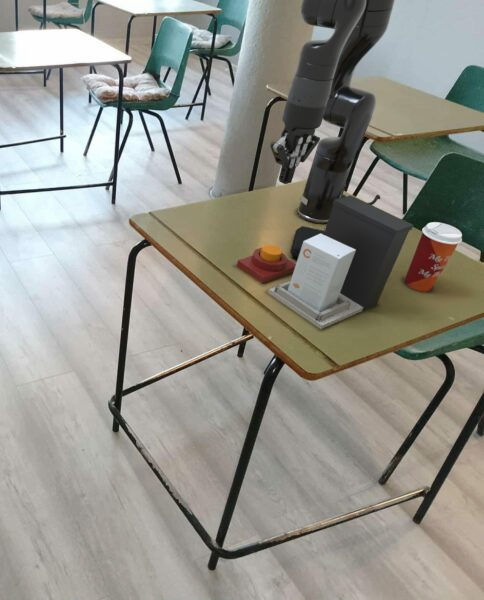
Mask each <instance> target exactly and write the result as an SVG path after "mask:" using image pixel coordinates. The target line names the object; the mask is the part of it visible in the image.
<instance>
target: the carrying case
mask: <svg viewBox="0 0 484 600" xmlns="http://www.w3.org/2000/svg"><path fill="white" fill-rule="evenodd" d="M324 232H325V230H322V229H317V228H314V227H309V226H304V225H303V226H299V227H298V228H297V229H296V230H295V232H294V236H293V240H292V243H291V247H290V250H289V251H290V255H291V256H292V258H294V259H296V260H298V257H299V254H300V251H301V248H302V244H303V241H305V240H307V239H309V238H312V237H314V236H316V235H318V234H320V233H321V234H323V235H324Z"/></svg>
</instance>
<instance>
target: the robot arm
mask: <svg viewBox="0 0 484 600" xmlns="http://www.w3.org/2000/svg"><path fill="white" fill-rule="evenodd" d="M394 5H395V0H302V1H301V3H300V16H301V19H302V21H303V22H304V23H306V24H307V25H309V26H313V27H319V28H325V29H331V30H333V33H332V35H331V36H330V37H329V38H327V39H314V40H313V39H312V40H308V41H306V42H304V44H303V45H302V47H301V49H300V53H299V56H298V60H297V65H296V68H295V72H294V75H293V78H292V81H291V83H290V86H289V90H288V94H287V98H286V102H285V106H284V110H283V114H282V117H281V119H282V122H283V124H284V127H283V130H282V131H281V134H280V138H279V139H278V140H277V141H272V142H271V143H270V145H269V147H270V150H271V153H272V155H273V159H274V161H275V163H276V164H278V165H280V166H281V168H280V171H279V176H278V181H279V182H280V183H281V184H284V185H288V184H291V183H292V182H293V178H294V176H295V173H296V168H297V167H298V166H299V165H300V163H303V164H304V163H305V161H307V159H308V158H309V156H310V155H311V154H312V153H313V151H314V149H315V148H316V150H315V153H314V156H313V160H312V162H311V167H310V170H309V173H308V176H307V178H306V182H305V186H304V189H303V192H302V195H301V197H300V200H299V201H300V202H299V205H298V207H297V211H296V213H297V215H298V216H299V218H302V219H303V220H305V221H308V222H311V223H317V224H327V223H328V220H329V217H330V214H331V212H332V209H333V206H334V205H333V201H334V200H335V199H339V198H343V197H346V196H347V195H346V194H344V193H345V190H346V186H347V184H346V183H347V180H348V177H349V174H350V170H351V168H352V165H353V163H354V160H355V157H356V154H357V152H358V151H359V148H360V147H361V144H362V142H363V139H364V137H365V135H366V132H367V130H368V127H369V125H370V123H371V121H372V118H373V116H374V113H375V110H376V105H377V98H376V97H377V96H376V95H375V94H374V93H373V92H370V91H367V90H363V89H361V88H360V89H359V88H356V87H353V86H352V85H351V83H352V78H353V75H354V73H355V70H356V68H357V66H358V65H359V63H360V62H361V61H362V59H363V58H364V57H365V56H366V55H367V54H368V53H369V52H370V51H372V49H373V48H374V47H375V46H376V45H377V44H378V43H379V41H380V40H381V39H382V38H383V37H384V35H385V33H386V32H387V29H388V27H389V24H390V20H391V17H392V16H391V15H392V13H393V9H394ZM323 121H324V122H326V123H328V124H329V125H332V126H336V127H338V128H341V129H343V131H342V133H341V135H340V136H330V137H329V136H328V137H324V138H322V139H321V137H320V136H317V135H316V134H315V133H316V129H318V128H320V127H321V125H322V123H323ZM380 199H381V195H380V194H376V195H375V196H374V198H373V200H372V201H370V202H367V203H368V204H370V205H372V206H374V205H375V203H376V202H377V201H378V200H380Z"/></svg>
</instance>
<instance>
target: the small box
mask: <svg viewBox="0 0 484 600" xmlns="http://www.w3.org/2000/svg"><path fill="white" fill-rule="evenodd" d="M355 251H356V250H355V249H353V248H351V247H349V246H347V245H345V244H342V243H340V242H338V241H336V240H334V239H332V238H329V237H327V236H325V235H323V234H321V233H320V234H318V235H316V236H314V237H312V238H309V239H307V240H305V241H303V244H302V248H301V251H300V254H299V257H298V259H296V263H295V264H296V266H295V269H294V272H293V273H292V276H291V278H290V281H291V282H290V285H289V288H288V292H290V293H291V294H293V295H294V296H296V297H297V298H299V299H300V300H302V301H303V302H305V303H306V304H308V305H309V306H311V307H312V308H314V309H315V310H317V311H318V312H322V311H324V310H326V309H328V308H329V307H331V306H332V305H334V304H335V303H336V301H337V299H338V296H339V293H340V291H341V288H342V286H343V283H344V280H345V278H346V275H347V272H348V270H349V267H350V265H351V262H352V259H353V257H354V254H355Z"/></svg>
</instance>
